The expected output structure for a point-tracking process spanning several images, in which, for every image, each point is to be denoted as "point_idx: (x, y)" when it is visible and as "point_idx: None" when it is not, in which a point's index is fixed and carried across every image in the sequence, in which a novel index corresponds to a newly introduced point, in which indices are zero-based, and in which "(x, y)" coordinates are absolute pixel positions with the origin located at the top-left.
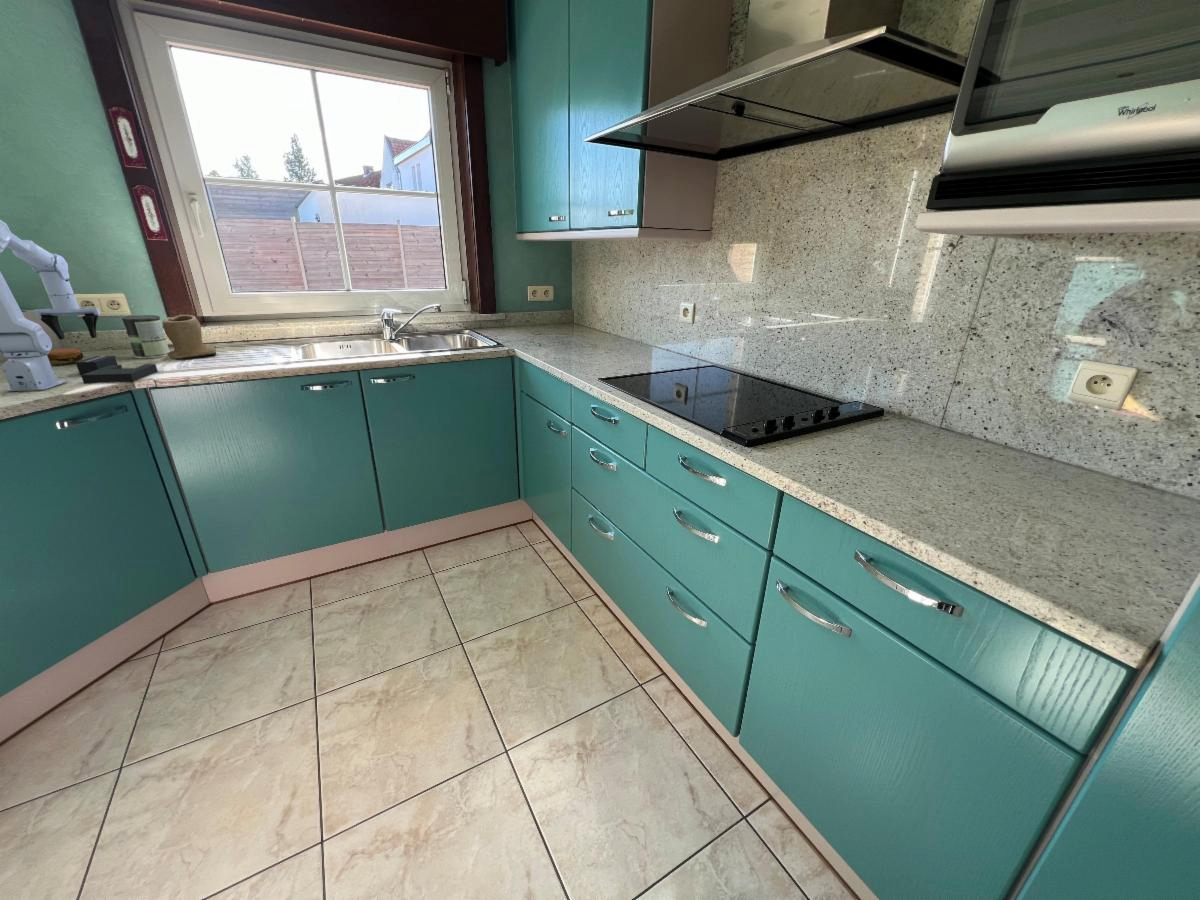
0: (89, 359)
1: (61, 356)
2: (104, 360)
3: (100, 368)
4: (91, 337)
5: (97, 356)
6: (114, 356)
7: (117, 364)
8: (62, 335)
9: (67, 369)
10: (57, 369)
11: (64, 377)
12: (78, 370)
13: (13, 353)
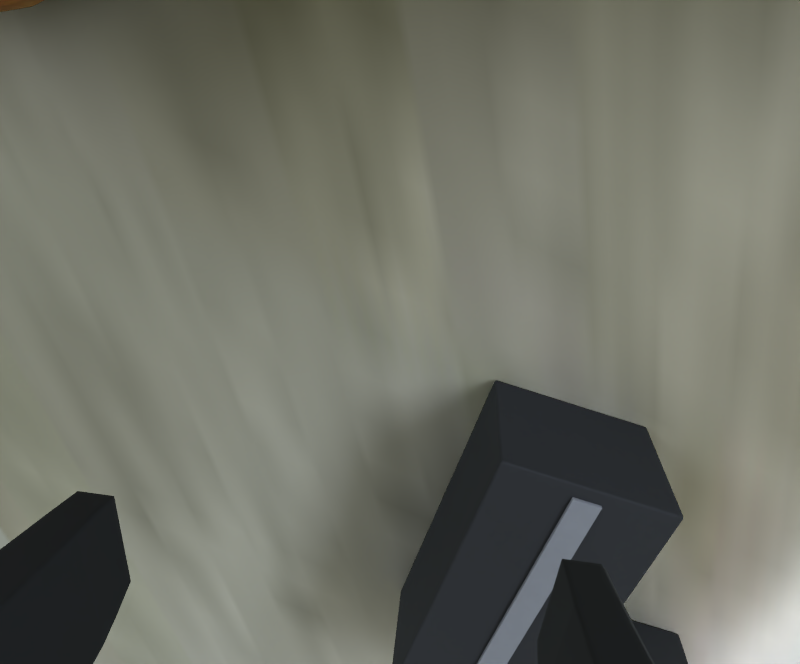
0: (471, 617)
1: (12, 4)
2: None
3: None
4: (538, 656)
5: (517, 488)
6: (677, 517)
7: (653, 450)
8: (90, 591)
9: (224, 306)
10: (134, 264)
11: (323, 616)
12: (397, 623)
13: None
